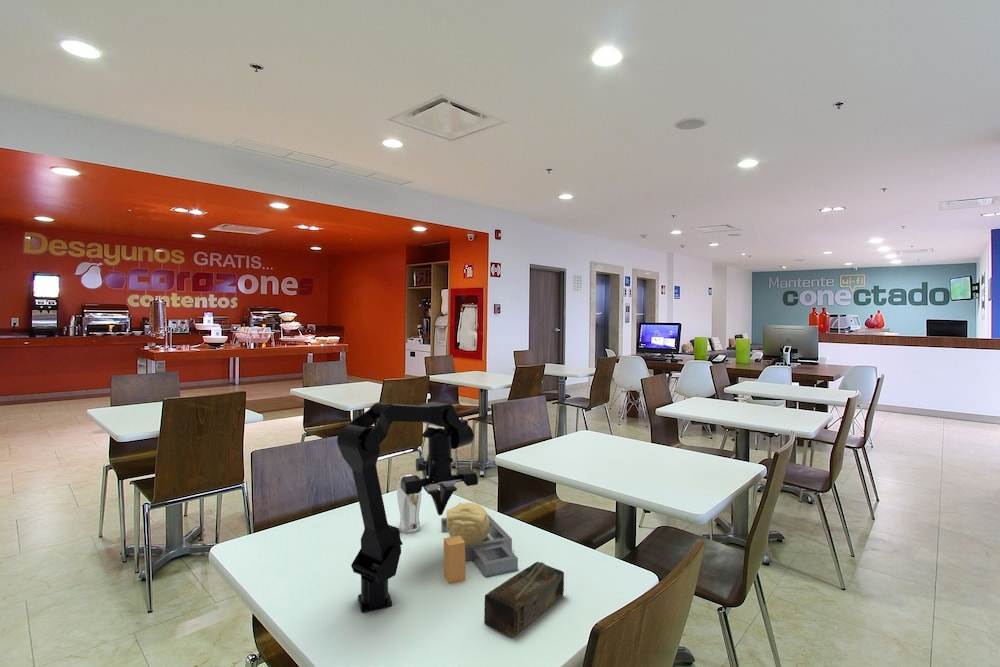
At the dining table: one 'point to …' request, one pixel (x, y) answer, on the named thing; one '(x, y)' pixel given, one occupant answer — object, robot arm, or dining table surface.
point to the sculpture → (468, 522)
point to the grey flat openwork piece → (491, 551)
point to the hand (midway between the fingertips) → (439, 514)
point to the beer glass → (408, 509)
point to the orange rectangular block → (454, 559)
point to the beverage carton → (523, 598)
